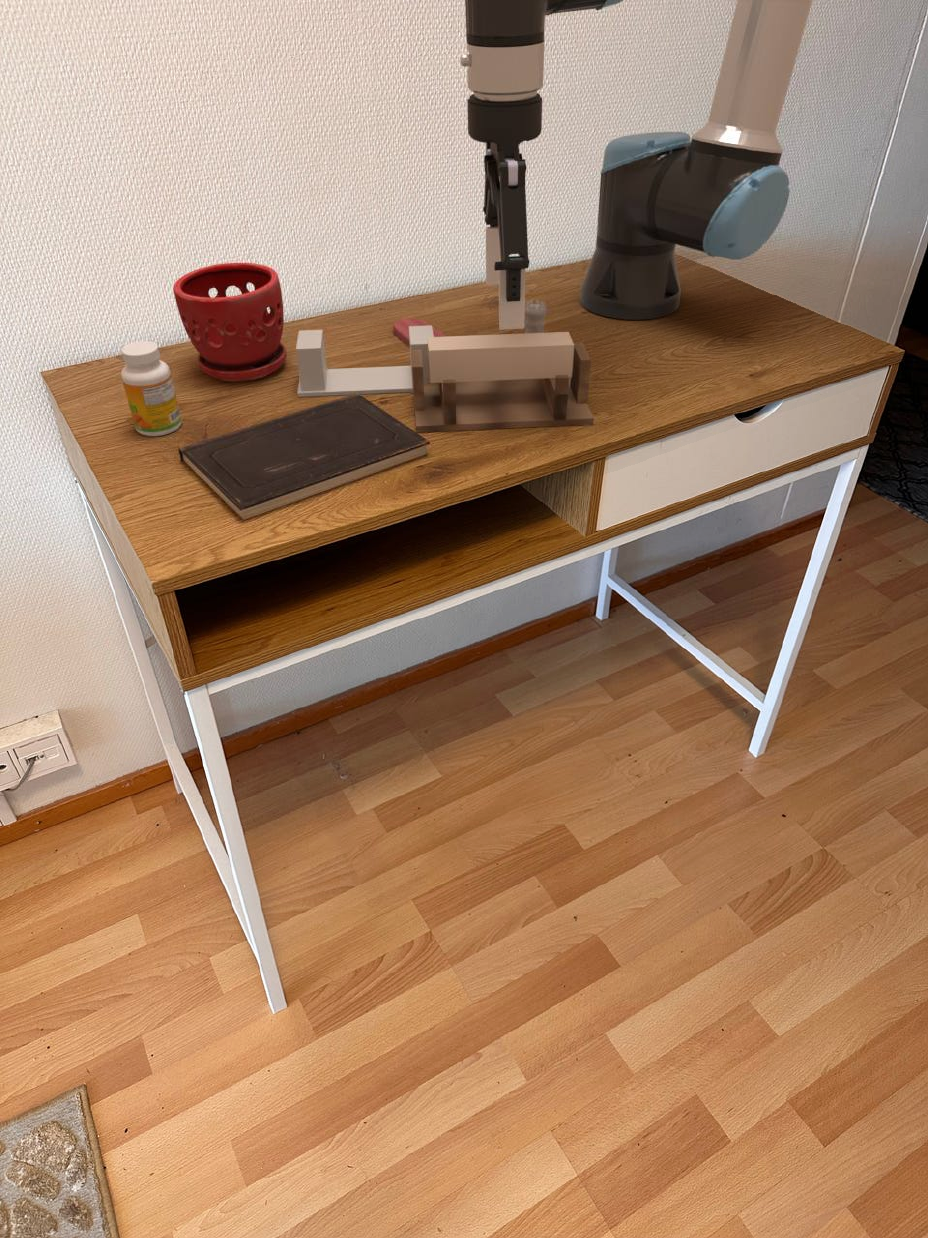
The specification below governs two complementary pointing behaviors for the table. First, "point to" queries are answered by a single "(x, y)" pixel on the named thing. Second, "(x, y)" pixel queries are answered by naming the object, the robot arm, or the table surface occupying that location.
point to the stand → (355, 369)
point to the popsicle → (403, 329)
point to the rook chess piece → (535, 317)
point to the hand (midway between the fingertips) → (504, 304)
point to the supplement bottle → (149, 390)
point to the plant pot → (233, 320)
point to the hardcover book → (302, 454)
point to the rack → (503, 400)
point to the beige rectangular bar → (500, 357)
